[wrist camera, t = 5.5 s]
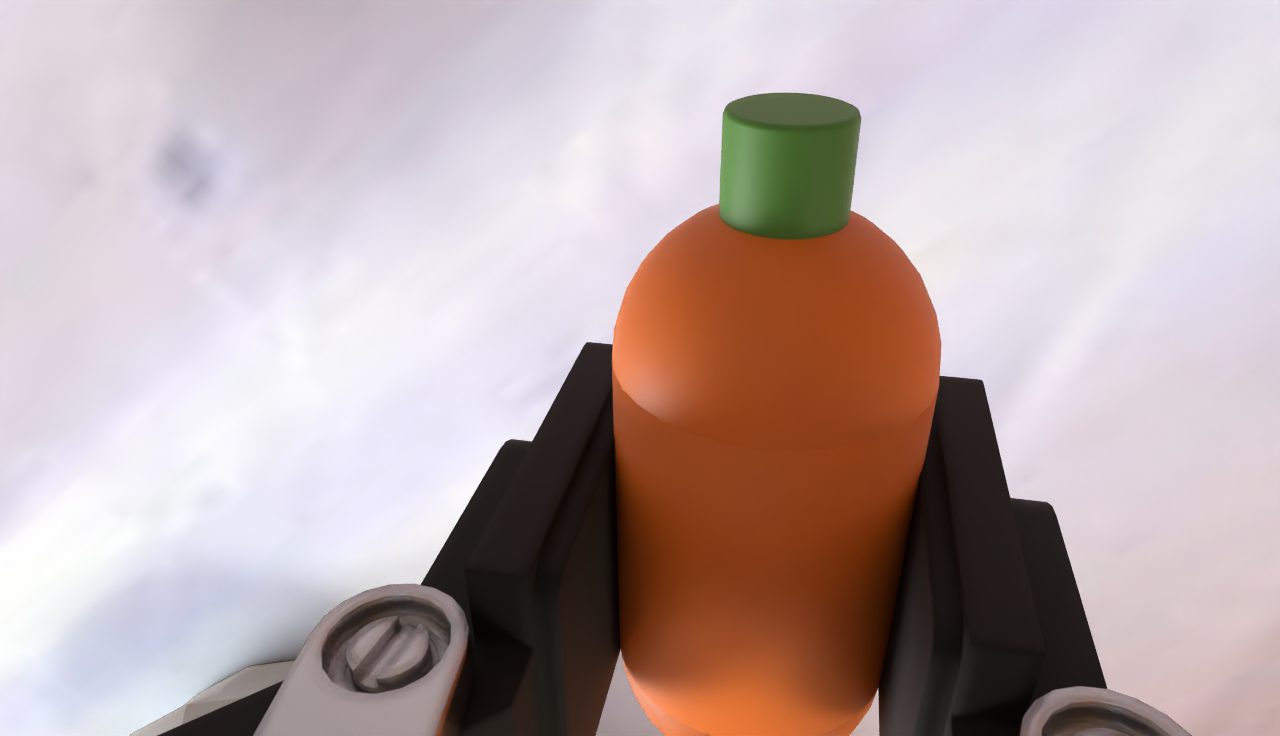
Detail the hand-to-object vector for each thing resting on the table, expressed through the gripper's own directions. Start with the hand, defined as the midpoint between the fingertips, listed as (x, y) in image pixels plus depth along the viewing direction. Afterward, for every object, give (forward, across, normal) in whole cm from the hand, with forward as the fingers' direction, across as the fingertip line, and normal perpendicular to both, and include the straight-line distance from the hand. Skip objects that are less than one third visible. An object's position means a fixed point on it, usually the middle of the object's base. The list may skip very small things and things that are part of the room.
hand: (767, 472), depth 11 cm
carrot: (0, 0, 0) cm, 1 cm away
